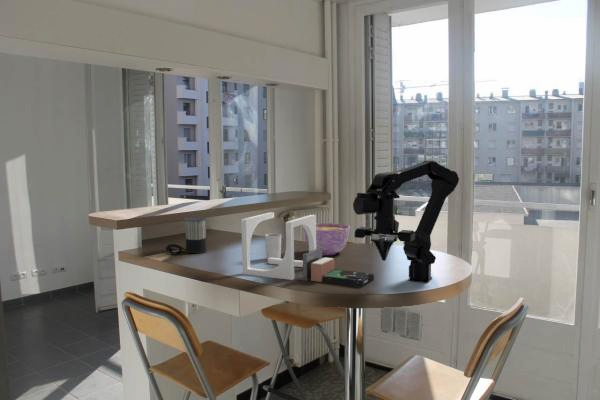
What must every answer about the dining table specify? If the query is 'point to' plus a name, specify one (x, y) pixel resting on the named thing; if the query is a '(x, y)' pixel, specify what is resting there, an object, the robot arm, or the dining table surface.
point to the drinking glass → (273, 245)
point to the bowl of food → (330, 237)
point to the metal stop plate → (309, 263)
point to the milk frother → (192, 237)
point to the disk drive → (348, 278)
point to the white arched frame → (287, 263)
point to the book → (321, 268)
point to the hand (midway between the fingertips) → (384, 260)
